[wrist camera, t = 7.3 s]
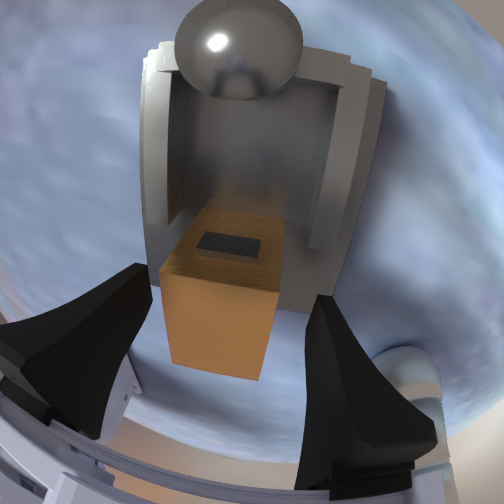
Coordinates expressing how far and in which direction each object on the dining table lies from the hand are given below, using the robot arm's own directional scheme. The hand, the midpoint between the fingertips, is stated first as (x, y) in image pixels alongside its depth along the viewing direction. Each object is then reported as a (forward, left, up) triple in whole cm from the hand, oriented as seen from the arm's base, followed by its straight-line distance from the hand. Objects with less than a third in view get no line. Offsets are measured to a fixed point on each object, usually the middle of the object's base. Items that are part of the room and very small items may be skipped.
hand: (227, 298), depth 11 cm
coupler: (+4, 0, -3) cm, 5 cm away
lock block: (0, 0, -3) cm, 3 cm away
